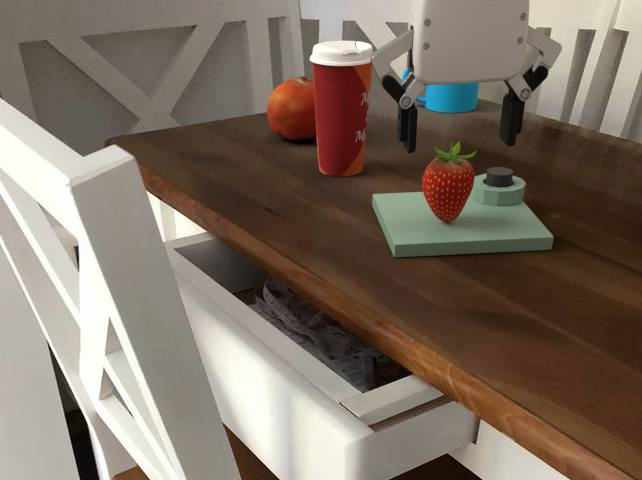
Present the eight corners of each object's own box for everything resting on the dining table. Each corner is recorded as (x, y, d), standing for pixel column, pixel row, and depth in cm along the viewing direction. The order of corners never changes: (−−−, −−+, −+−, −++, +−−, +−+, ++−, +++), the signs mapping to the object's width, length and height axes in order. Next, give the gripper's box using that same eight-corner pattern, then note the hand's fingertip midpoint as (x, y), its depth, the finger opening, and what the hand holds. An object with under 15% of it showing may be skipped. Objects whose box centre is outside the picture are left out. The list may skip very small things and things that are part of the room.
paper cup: (379, 175, 91) (386, 49, 83) (321, 182, 90) (320, 54, 81) (358, 156, 97) (362, 37, 88) (303, 162, 96) (301, 41, 87)
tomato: (254, 138, 104) (251, 77, 99) (299, 124, 109) (298, 65, 104) (301, 152, 99) (300, 87, 94) (346, 137, 104) (347, 75, 99)
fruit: (474, 231, 74) (485, 149, 69) (423, 232, 74) (430, 150, 69) (463, 211, 78) (472, 132, 73) (414, 212, 78) (421, 134, 73)
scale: (511, 198, 85) (516, 172, 83) (554, 249, 74) (561, 220, 72) (371, 204, 84) (372, 178, 82) (393, 257, 73) (395, 228, 71)
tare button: (506, 180, 82) (508, 166, 81) (514, 189, 80) (516, 174, 79) (482, 181, 82) (484, 167, 81) (489, 190, 80) (491, 175, 79)
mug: (472, 99, 119) (478, 42, 114) (480, 112, 113) (487, 53, 108) (398, 99, 120) (401, 43, 115) (402, 113, 113) (405, 54, 108)
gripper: (563, -79, 64) (532, 128, 75) (365, -68, 63) (363, 140, 74) (596, -72, 58) (558, 151, 69) (379, -60, 57) (375, 164, 68)
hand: (457, 145), depth 71 cm, fingers open, 9 cm apart
